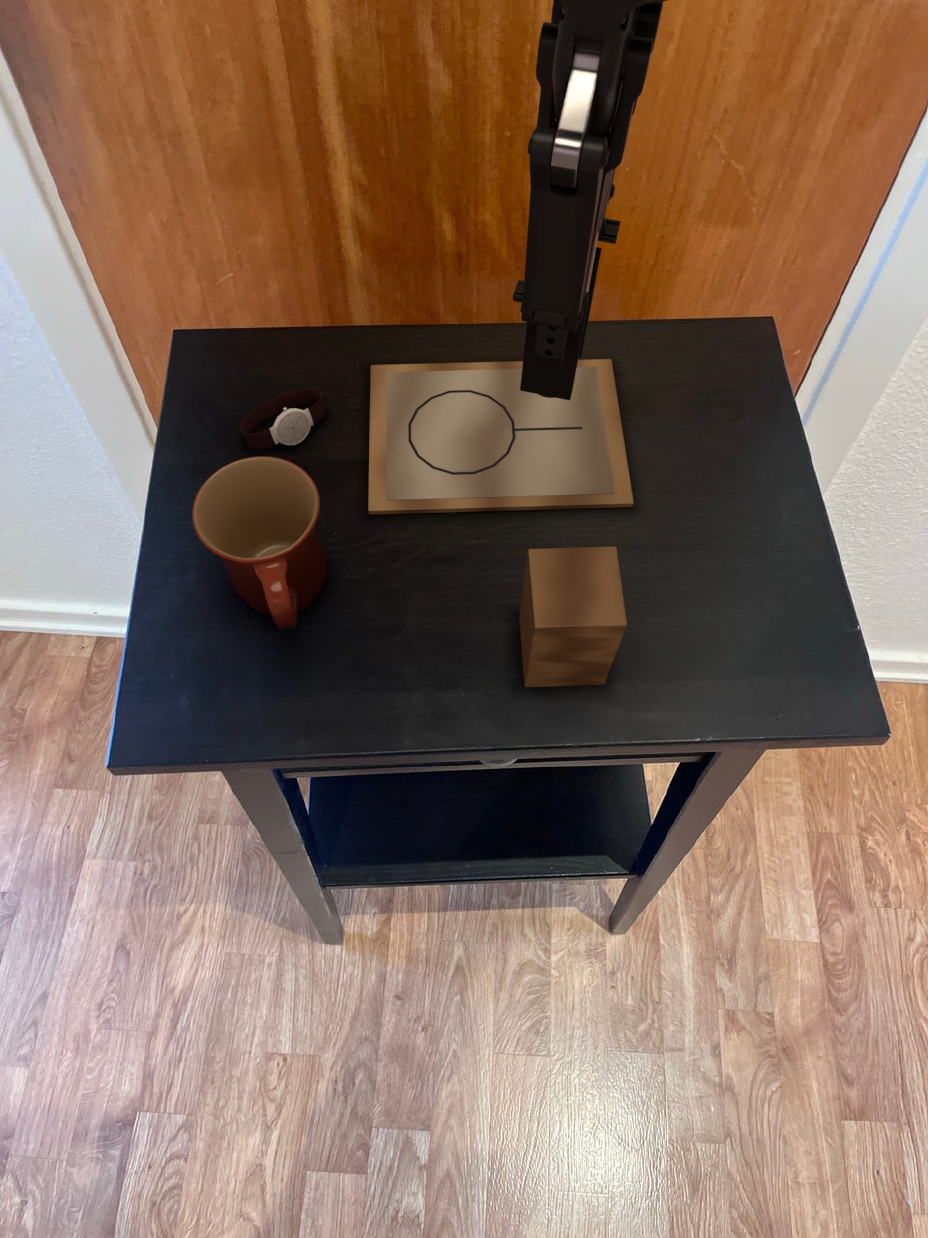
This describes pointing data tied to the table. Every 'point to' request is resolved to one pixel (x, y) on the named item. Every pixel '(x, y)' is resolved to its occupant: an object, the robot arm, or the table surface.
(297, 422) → the watch
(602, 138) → the robot arm
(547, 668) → the wooden block
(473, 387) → the sketch pad
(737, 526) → the table surface
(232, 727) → the table surface
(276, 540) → the mug
